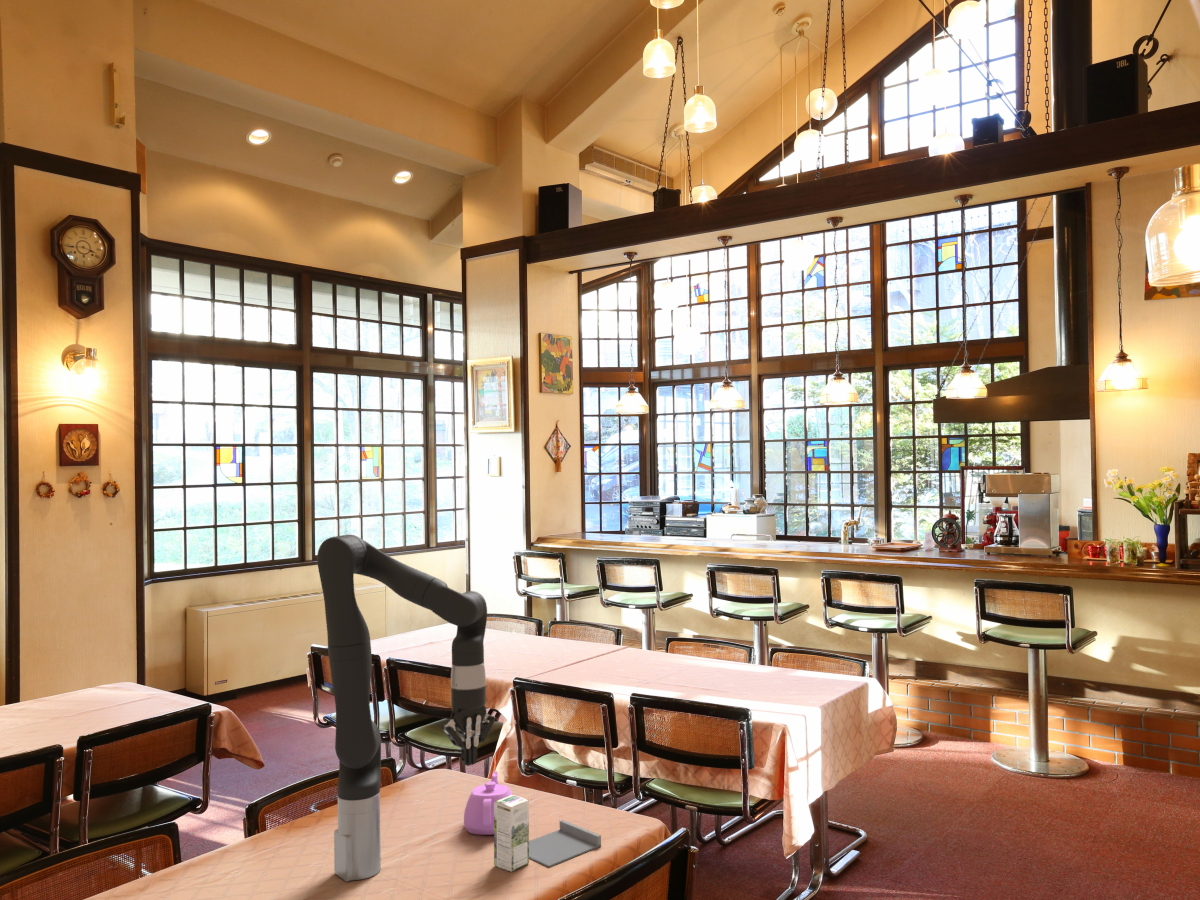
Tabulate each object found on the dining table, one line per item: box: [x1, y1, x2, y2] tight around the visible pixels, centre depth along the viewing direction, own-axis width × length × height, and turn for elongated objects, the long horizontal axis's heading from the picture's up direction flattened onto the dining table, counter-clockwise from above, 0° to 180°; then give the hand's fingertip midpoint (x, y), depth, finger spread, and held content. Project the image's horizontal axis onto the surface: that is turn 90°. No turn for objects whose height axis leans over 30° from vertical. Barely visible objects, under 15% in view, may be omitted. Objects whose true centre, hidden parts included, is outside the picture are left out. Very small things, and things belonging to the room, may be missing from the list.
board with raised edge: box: [529, 819, 602, 868], centre depth 203 cm, size 16×14×2 cm
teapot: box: [463, 771, 513, 836], centre depth 217 cm, size 13×20×11 cm
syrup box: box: [493, 794, 530, 873], centre depth 195 cm, size 6×6×14 cm
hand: (469, 764), depth 188 cm, fingers closed
